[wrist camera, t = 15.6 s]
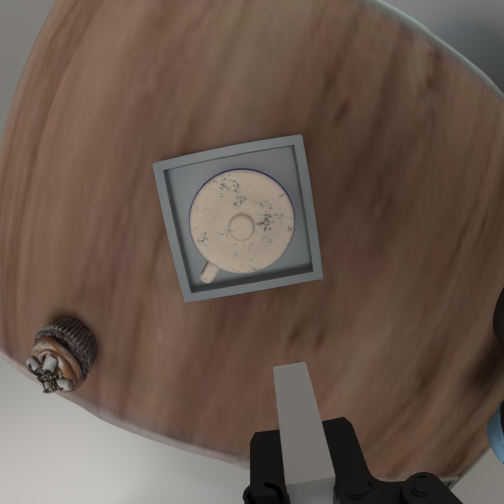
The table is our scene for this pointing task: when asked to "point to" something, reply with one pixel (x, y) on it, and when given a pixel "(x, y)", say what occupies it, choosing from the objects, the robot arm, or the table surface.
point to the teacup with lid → (241, 222)
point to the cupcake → (62, 355)
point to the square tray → (222, 159)
